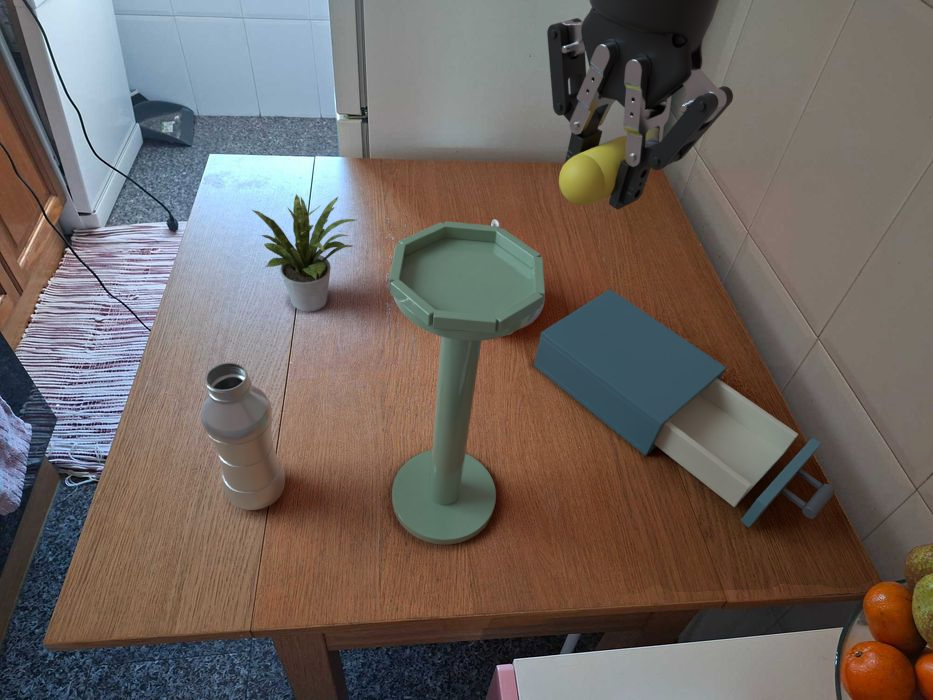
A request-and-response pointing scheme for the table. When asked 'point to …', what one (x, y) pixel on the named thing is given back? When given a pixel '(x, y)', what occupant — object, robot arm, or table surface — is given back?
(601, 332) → the cabinet
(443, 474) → the cake stand
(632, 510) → the table surface
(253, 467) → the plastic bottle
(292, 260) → the house plant
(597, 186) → the yellow rounded capsule
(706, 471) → the drawer
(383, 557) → the table surface
